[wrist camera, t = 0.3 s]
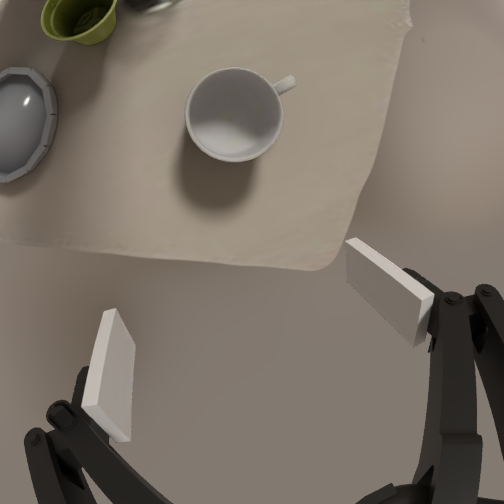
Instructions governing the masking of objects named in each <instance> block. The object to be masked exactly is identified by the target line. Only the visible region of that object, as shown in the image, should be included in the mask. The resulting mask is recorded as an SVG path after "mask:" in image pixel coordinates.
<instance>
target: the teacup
mask: <svg viewBox="0 0 504 504" xmlns="http://www.w3.org/2000/svg"><path fill="white" fill-rule="evenodd" d="M296 85H297V84H296V81H295V79H294V78H293V77H292V76H287V77H285V78H283V79H281V80H279V81H277V82H275V83H274V84H272V85H271V84H270V82H269V81H267V80H266V79H265V78H264V77H262V76H261V75H260V74H258V73H256V72H254V71H251V70H248V69H245V68H238V67H229V68H224V69H219V70H216V71H214V72H211V73H209V74H208V75H206V76H205V77H203V78H202V79H201V80H200V81H199V82H198V83H197V84H196V85H195V86H194V87H193V89H192V91H191V92H190V94H189V96H188V99H187V102H186V106H185V122H186V127H187V130H188V133H189V135H190V137H191V139H192V140H193V142H194V143H195V144H196V146H197V147H198V148H199V149H200V150H201V151H202V152H204V153H205V154H207V155H208V156H210V157H212V158H214V159H217V160H221V161H225V162H244V161H248V160H252V159H254V158H256V157H259V156H260V155H262V154H264V153H265V152H266V151H267V150H268V149H269V148H270V147H271V146H272V145H273V144H274V143H275V141H276V140H277V138H278V137H279V134H280V132H281V129H282V126H283V118H284V113H283V107H282V103H281V100H280V98H279V95H281V94H283V93H285V92H287V91H288V90H291V89H292V88H294V87H295V86H296Z"/></svg>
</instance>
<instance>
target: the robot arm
mask: <svg viewBox="0 0 504 504" xmlns="http://www.w3.org/2000/svg"><path fill="white" fill-rule="evenodd" d="M345 250H346V272H347V282H348V283H349V284H350V285H351V286H352V287H353V288H354V289H355V290H356V291H357V292H358V293H359V294H360V295H361V296H362V297H363V298H364V299H365V300H366V301H367V302H368V303H369V304H370V305H371V306H372V307H373V308H374V309H375V310H376V311H377V312H378V313H379V314H381V315H382V317H383V318H384V319H385V320H386V321H387V322H388V323H389V324H390V325H391V326H393V328H394V329H395V330H396V331H397V332H398V333H399V334H400V335H401V336H402V337H403V338H404V339H405V340H406V341H407V342H408V343H409V344H410V345H411V346H412V347H415V346H417V345H419V344H421V343H422V342H424V341H425V339H426V334H427V332H428V333H429V334H431V335H432V338H431V342H430V346H429V350H428V352H430V377H429V392H428V403H427V413H426V421H425V429H424V436H423V442H422V449H421V454H420V459H419V464H418V467H417V470H416V472H415V475H414V478H413V481H412V484H406V485H399V486H395V487H394V486H393V484H392V483H390V484H388V485H386V486H385V487H383V488H381V489H379V490H377V491H375V492H373V493H371V494H369V495H367V496H365V497H364V498H362V499H361V500H360V501H358V502H357V503H356V504H504V501H502V500H494V499H487V498H480V497H478V490H479V482H480V473H481V462H482V446H483V443H482V437H481V435H478V434H477V397H476V396H477V395H476V376H475V364H474V360H475V362H476V365H477V368H478V370H479V373H480V376H481V379H482V382H483V385H484V388H485V391H486V394H487V398H488V401H489V404H490V408H491V411H492V414H493V418H494V422H495V426H496V430H497V434H498V438H499V443H500V447H501V452H502V456H503V459H504V300H503V298H502V297H501V295H500V294H499V292H498V291H497V290H496V288H494V287H493V286H491V285H488V284H481V285H478V286H477V287H476V290H475V294H474V295H470V296H466V297H463V296H462V295H461V294H459V293H457V292H445V293H444V292H443V291H442V290H440V289H439V288H438V287H436V286H435V285H433V284H432V283H431V282H429V281H428V280H426V279H425V278H424V277H421V275H420V274H418V273H417V272H415V271H414V270H411V269H408V268H404V269H400V268H399V267H397V266H396V265H395V264H393V263H392V262H391V261H389V260H388V259H386V258H385V257H383V256H382V255H380V254H379V253H378V252H376V251H375V250H373V249H372V248H371V247H369V246H368V245H366V244H365V243H363V242H362V241H361V240H359V239H358V238H353V239H350V240H346V241H345ZM135 348H136V345H135V343H134V342H133V340H132V338H131V336H130V334H129V332H128V331H127V329H126V327H125V325H124V323H123V321H122V319H121V318H120V315H119V313H118V311H117V309H116V308H115V309H111V310H107V311H104V313H103V317H102V320H101V323H100V327H99V331H98V335H97V338H96V342H95V346H94V350H93V354H92V358H91V362H90V366H86V367H83V368H82V369H81V371H80V372H79V374H78V376H77V380H76V385H75V389H74V390H75V391H74V393H73V398H72V402H71V404H70V403H69V402H68V401H66V400H59V401H56V402H55V403H53V404H52V405H51V406H50V407H49V409H48V411H47V414H46V418H47V421H48V422H49V423H50V424H51V425H52V426H53V427H54V428H55V430H52V431H50V432H48V433H46V432H44V431H43V430H42V429H41V428H37V427H36V428H33V429H31V430H30V431H29V432H28V433H27V434H26V436H25V439H24V446H25V452H26V457H27V462H28V465H29V471H30V474H31V479H32V483H33V487H34V490H35V494H36V497H37V500H38V503H39V504H97V503H96V501H95V499H94V497H93V495H92V492H91V490H90V488H89V486H88V483H87V481H86V479H85V476H84V474H83V472H82V469H81V468H82V467H83V468H84V469H85V471H86V472H87V473H88V474H89V476H90V477H91V478H92V479H93V481H94V482H95V483H96V484H97V486H98V487H99V488H100V489H101V490H102V492H103V493H104V494H105V495H106V496H107V497H108V498H109V499H110V501H111V502H112V503H113V504H173V503H171V502H170V501H169V500H168V499H167V498H165V497H164V496H163V495H162V494H161V493H159V492H158V491H157V490H156V489H155V488H154V487H153V486H151V485H150V484H149V483H148V482H147V481H146V480H145V479H144V478H143V477H141V476H140V475H139V474H138V473H137V472H136V471H135V470H134V469H133V468H132V467H131V466H130V465H129V464H128V463H127V462H126V461H125V460H124V459H123V458H122V457H121V456H120V455H119V454H118V453H117V452H116V451H115V450H114V449H113V447H111V446H110V445H109V437H110V438H111V439H112V440H113V441H114V442H115V443H120V442H129V441H131V410H132V409H131V408H132V387H133V373H134V359H135Z"/></svg>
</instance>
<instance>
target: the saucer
mask: <svg viewBox="0 0 504 504" xmlns="http://www.w3.org/2000/svg"><path fill="white" fill-rule="evenodd" d="M57 121H58V104H57V98H56V94H55V92H54V89H53V87H52V85H51V84H50V82H49V81H48V80H47V79H46V78H45V77H44V76H43V75H42V74H40V73H39V72H38V71H37V70H36V69H33V68H27V67H10V68H9V67H8V68H6V69H5V70H3V71H2V72H0V182H1V183H8V182H11V181H13V180H15V179H17V178H19V177H21V176H23V175H25V174H27V173H29V172H31V171H32V170H34V168H35V167H36V166H37V165H38V164H39V163H40V161H41V160H42V159H43V158H44V156H45V155H46V153H47V151H48V149H49V148H50V146H51V143H52V141H53V138H54V135H55V132H56V127H57Z"/></svg>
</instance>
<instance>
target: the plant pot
mask: <svg viewBox="0 0 504 504" xmlns="http://www.w3.org/2000/svg"><path fill="white" fill-rule="evenodd" d="M116 2H117V0H47V2H46V3H45V5H44V8H43V10H42V14H41V27H42V30H43V32H44V33H45V34H46V35H47V36H48V37H50V38H52V39H54V40H58V41H69V40H72V41H75V42H78V43H80V44H83V45H93V44H97V43H100V42H102V41H103V40H105V39H106V38H107V37H108V36H109V35H110V34H111V33H112V32H113V30H114V28H115V25H116V13H115V5H116ZM104 11H106V12H108V13H107V14H105V13H103V12H104ZM86 16H88V17H87V18H86V19H85V20H84V21H83V22H82V23H81V21H82V19H83V18H84V17H86ZM93 24H96V25H95V26H94V27H93Z"/></svg>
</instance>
